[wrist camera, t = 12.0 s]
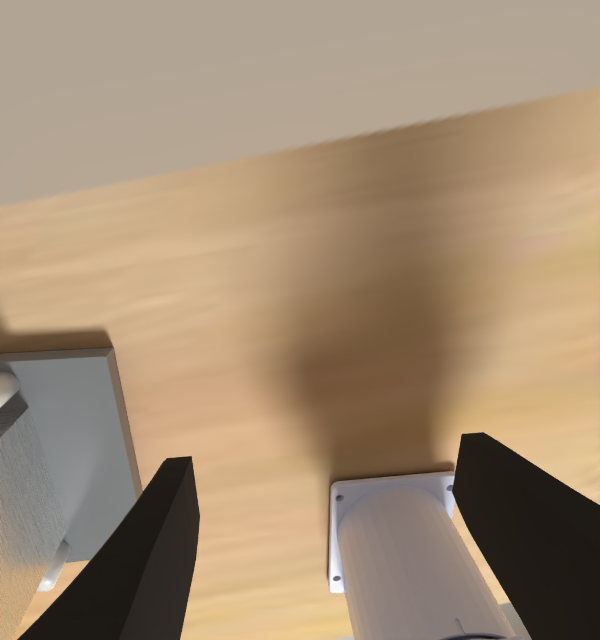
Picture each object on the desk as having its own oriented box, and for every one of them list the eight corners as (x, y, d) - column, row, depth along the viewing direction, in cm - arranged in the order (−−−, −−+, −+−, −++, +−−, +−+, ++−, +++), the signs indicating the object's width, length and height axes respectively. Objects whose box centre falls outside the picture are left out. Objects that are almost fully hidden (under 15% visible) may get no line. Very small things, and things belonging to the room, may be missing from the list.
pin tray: (152, 539, 24) (138, 587, 21) (-60, 560, 23) (-103, 614, 20) (113, 347, 19) (89, 377, 17) (-156, 361, 18) (-230, 396, 16)
